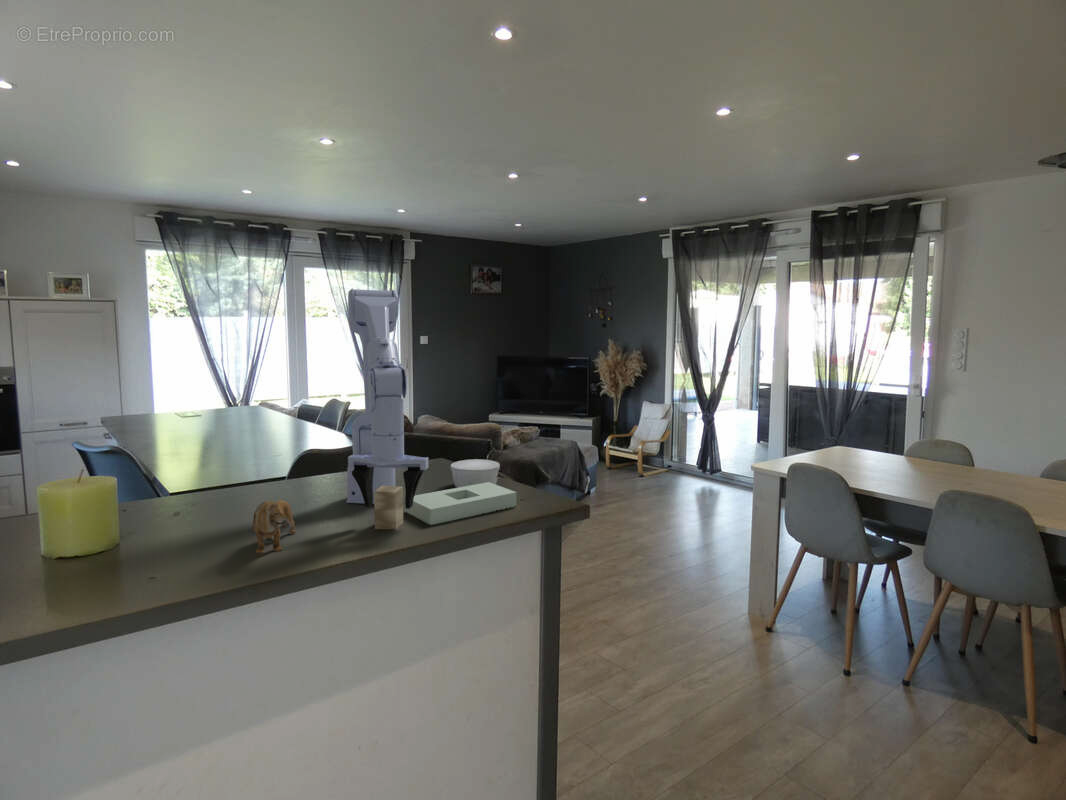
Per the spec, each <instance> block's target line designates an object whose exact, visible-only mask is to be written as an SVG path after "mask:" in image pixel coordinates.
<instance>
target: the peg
mask: <svg viewBox="0 0 1066 800" xmlns="http://www.w3.org/2000/svg"><path fill="white" fill-rule="evenodd" d="M373 505H374V529H375V530H389V529H393V530H394V529H395V530H394V531H396V529H397V528H398V527H399V526H400V525H401V524H402V523H404V487H403V486H399V485H398V486H396V485H395V486H381V487H380V488H378V489H377V490H376V491H374V504H373ZM402 525H403V524H402ZM402 525H401V526H402ZM401 526H400V527H401ZM400 527H399V528H400ZM399 528H398V529H399ZM398 529H397V530H398Z"/></svg>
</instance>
